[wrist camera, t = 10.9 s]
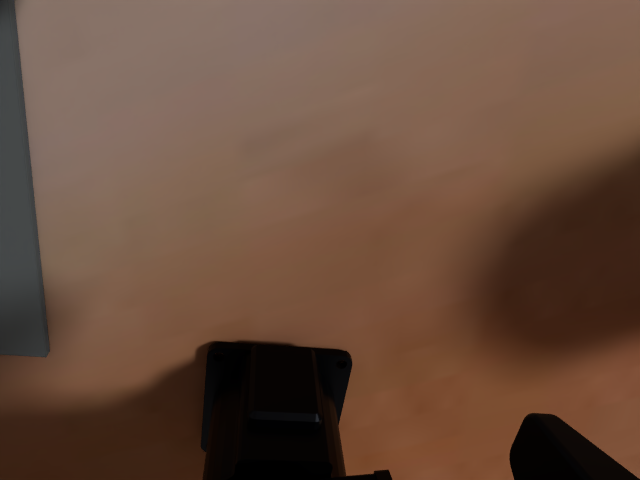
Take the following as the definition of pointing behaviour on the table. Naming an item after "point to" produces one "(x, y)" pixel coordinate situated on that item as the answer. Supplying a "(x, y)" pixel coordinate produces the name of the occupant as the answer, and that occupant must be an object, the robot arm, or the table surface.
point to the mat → (17, 211)
